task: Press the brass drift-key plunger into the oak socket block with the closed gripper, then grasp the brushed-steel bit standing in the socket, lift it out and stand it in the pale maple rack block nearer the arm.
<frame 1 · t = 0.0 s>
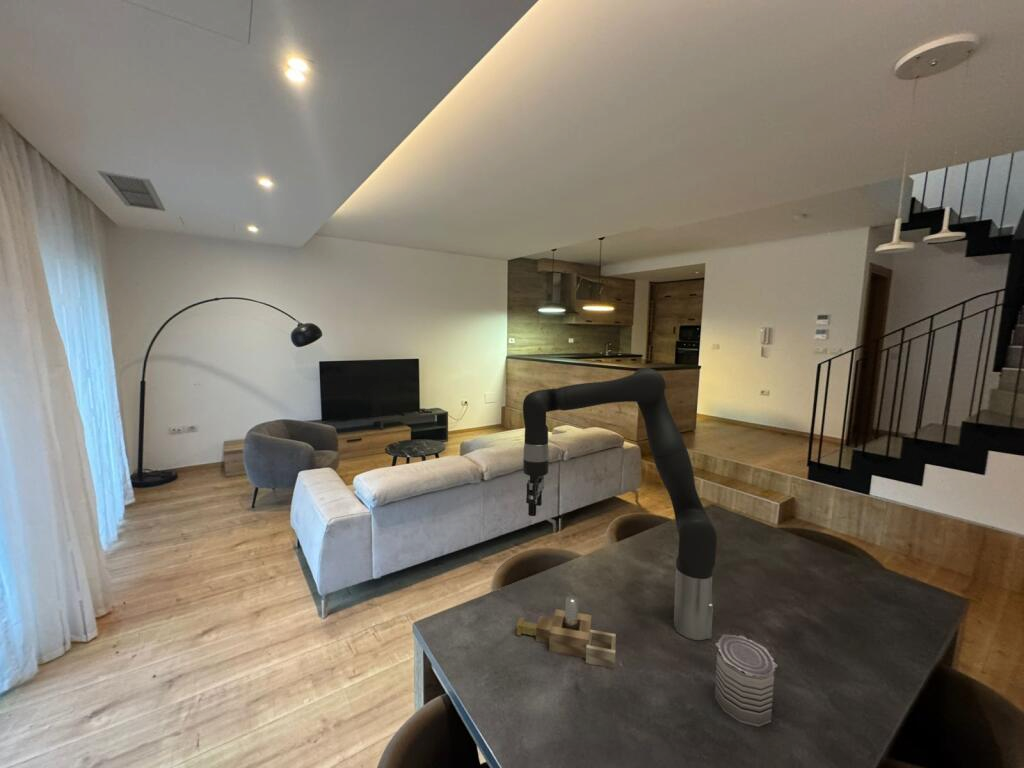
hand: (535, 510, 123), 29 cm above the table, fingers open, 8 cm apart
socket block: (570, 641, 108), on the table
can: (742, 704, 90), on the table
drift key: (532, 628, 111), point 2 cm above the table, slide at 0.0 cm
steel bit: (571, 620, 108), in the socket block
rack: (600, 655, 104), on the table
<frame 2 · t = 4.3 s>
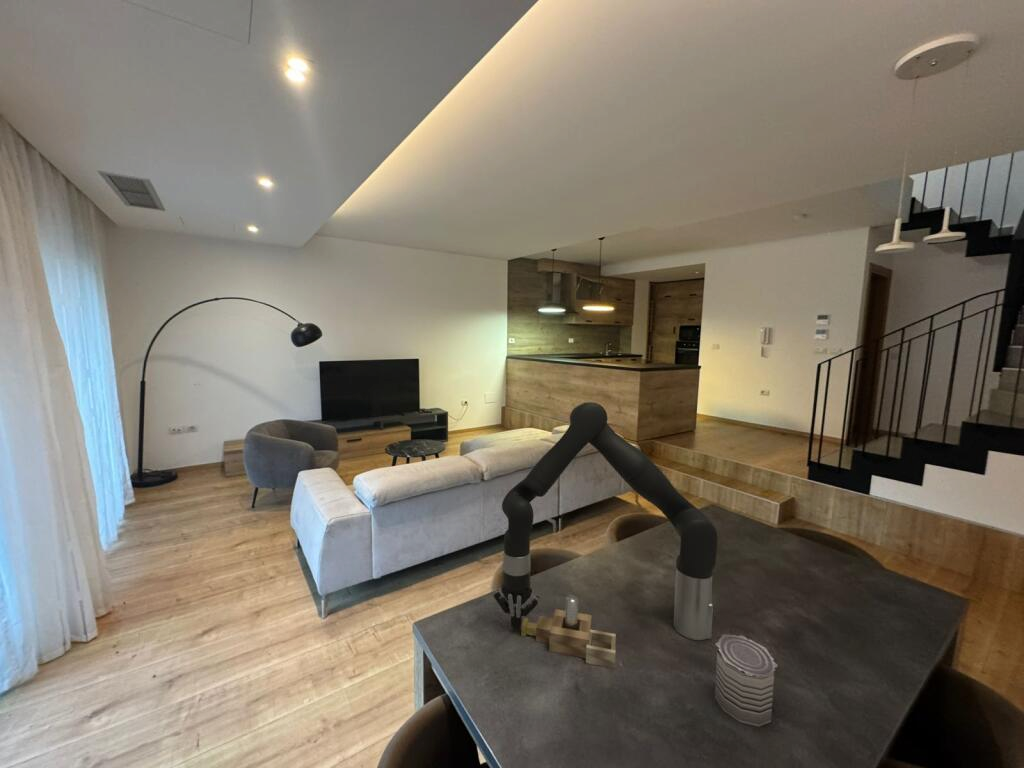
hand: (516, 627, 112), 1 cm above the table, fingers closed
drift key: (537, 629, 111), point 2 cm above the table, slide at 1.3 cm, touching gripper
everything else where it was.
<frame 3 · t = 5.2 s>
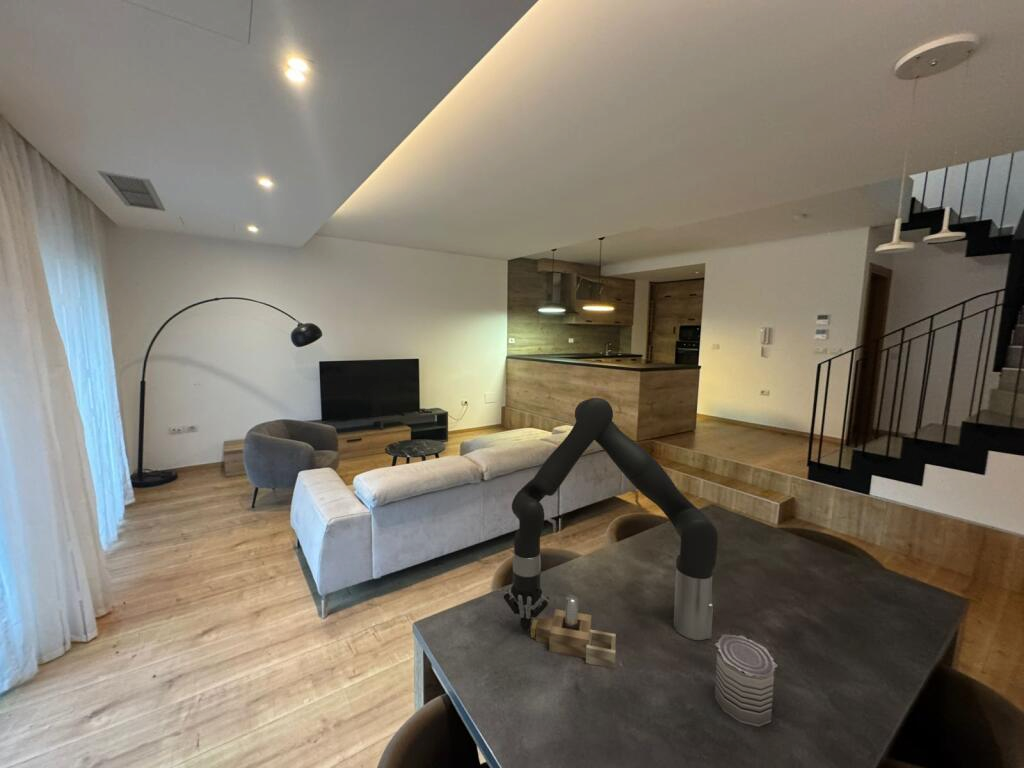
hand: (525, 628, 112), 1 cm above the table, fingers closed
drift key: (547, 631, 110), point 2 cm above the table, slide at 3.9 cm, touching gripper
everything else where it was.
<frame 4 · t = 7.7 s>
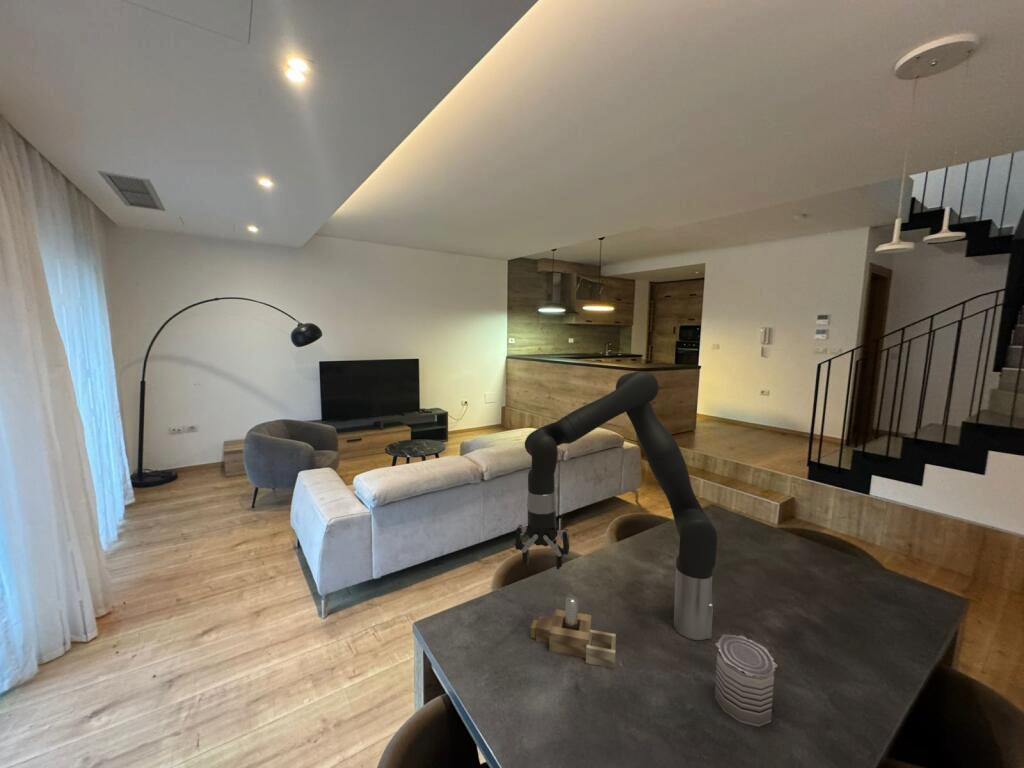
hand: (542, 566, 109), 20 cm above the table, fingers open, 8 cm apart
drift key: (547, 631, 110), point 2 cm above the table, slide at 3.9 cm
everything else where it was.
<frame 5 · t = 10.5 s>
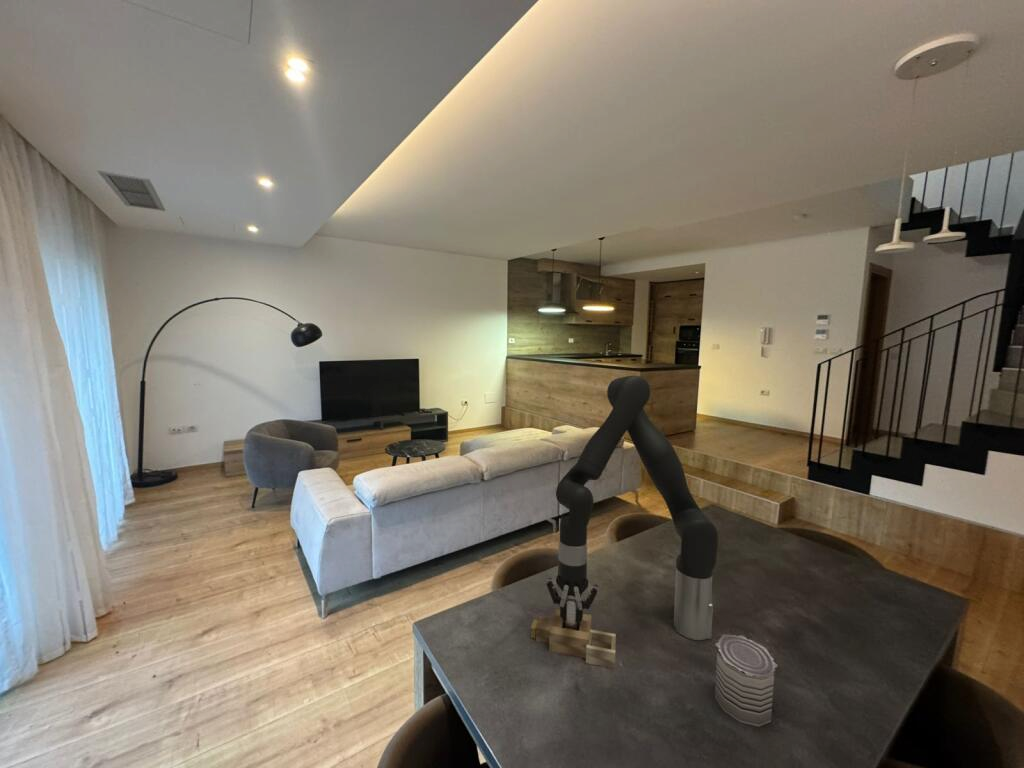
hand: (571, 619, 108), 6 cm above the table, fingers closed on steel bit, 3 cm apart
steel bit: (571, 620, 108), in the socket block, touching gripper
everything else where it was.
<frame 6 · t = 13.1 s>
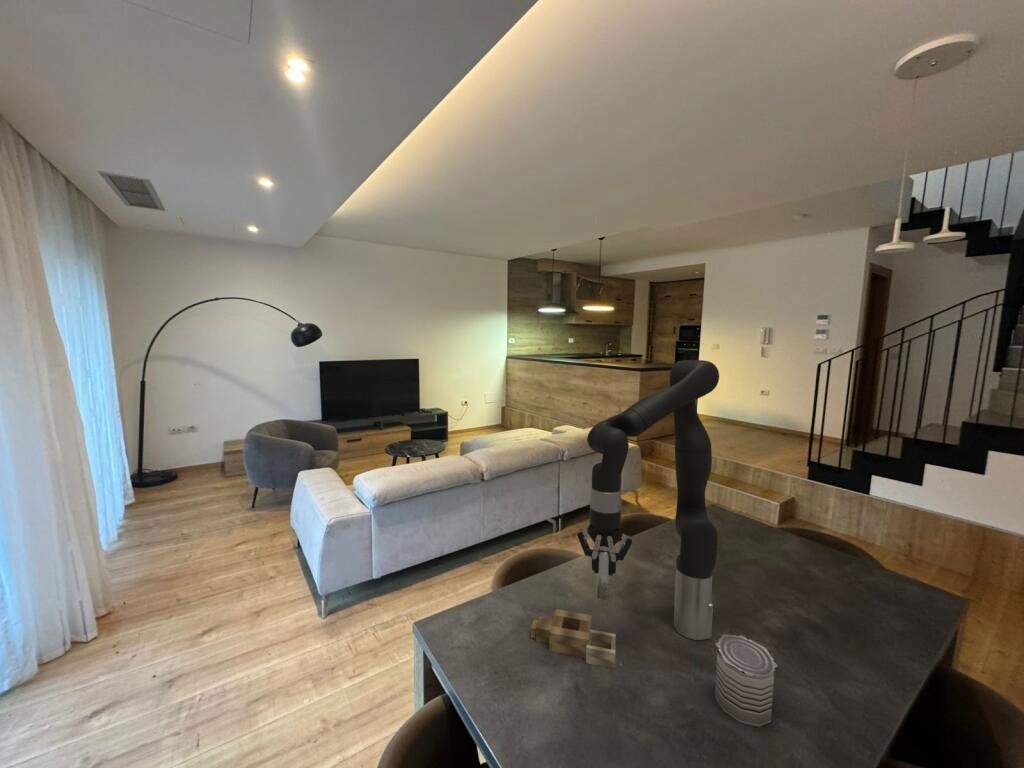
hand: (603, 572, 102), 22 cm above the table, fingers closed on steel bit, 3 cm apart
steel bit: (603, 573, 102), point 22 cm above the table, touching gripper
everything else where it was.
when the fingers open (8 cm above the table, at t = 15.8 s): steel bit drops 2 cm, resting in rack.
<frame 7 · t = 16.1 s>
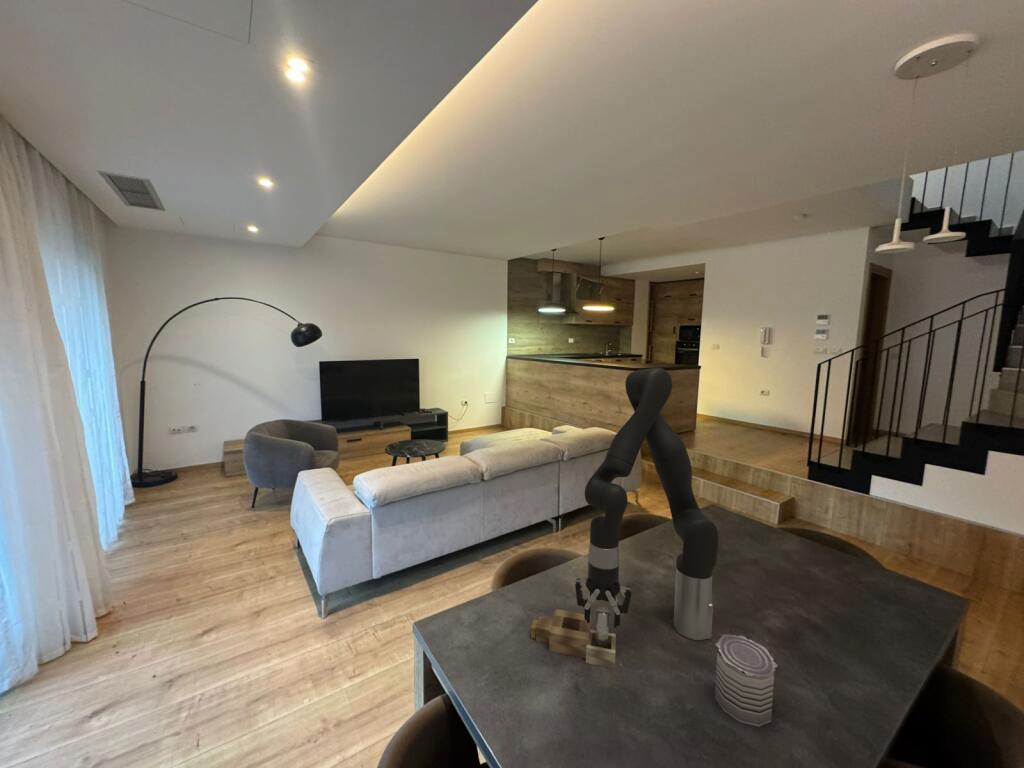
hand: (601, 623, 103), 9 cm above the table, fingers open, 6 cm apart
steel bit: (602, 633, 103), in the rack
everything else where it was.
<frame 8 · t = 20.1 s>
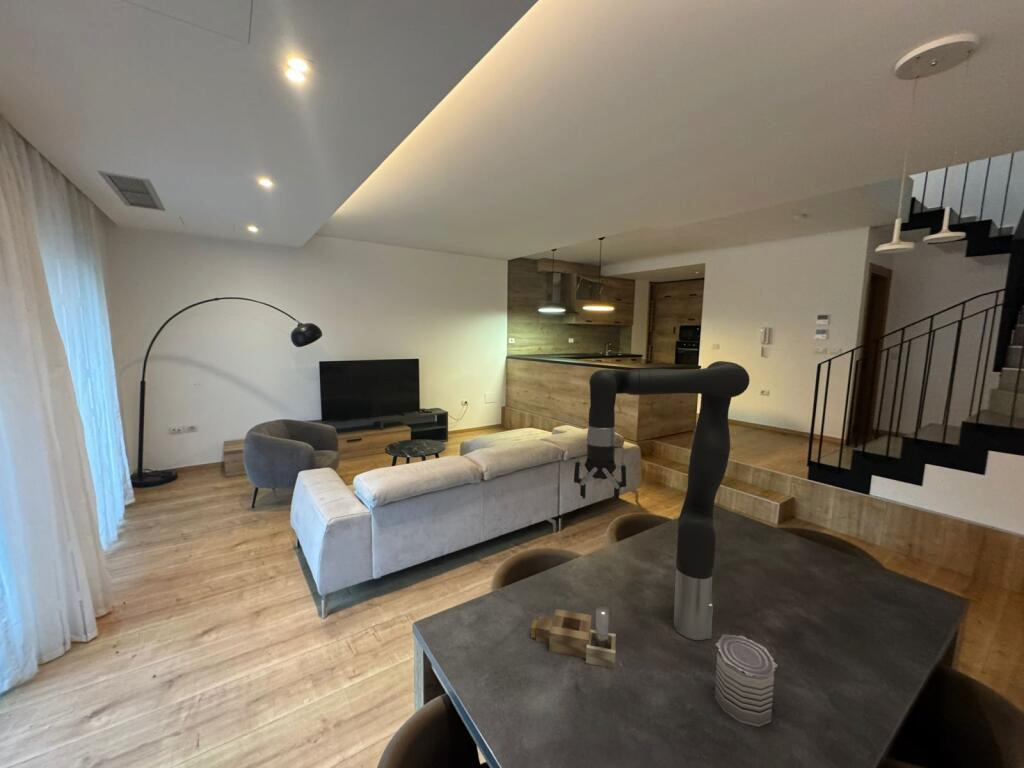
hand: (599, 499, 114), 36 cm above the table, fingers open, 8 cm apart
nothing on the table moved.
at the end: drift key slide at 3.9 cm; steel bit 0.1 cm off-centre on the rack, point 6.0 cm above the rack's base; steel bit tilted 0° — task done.
